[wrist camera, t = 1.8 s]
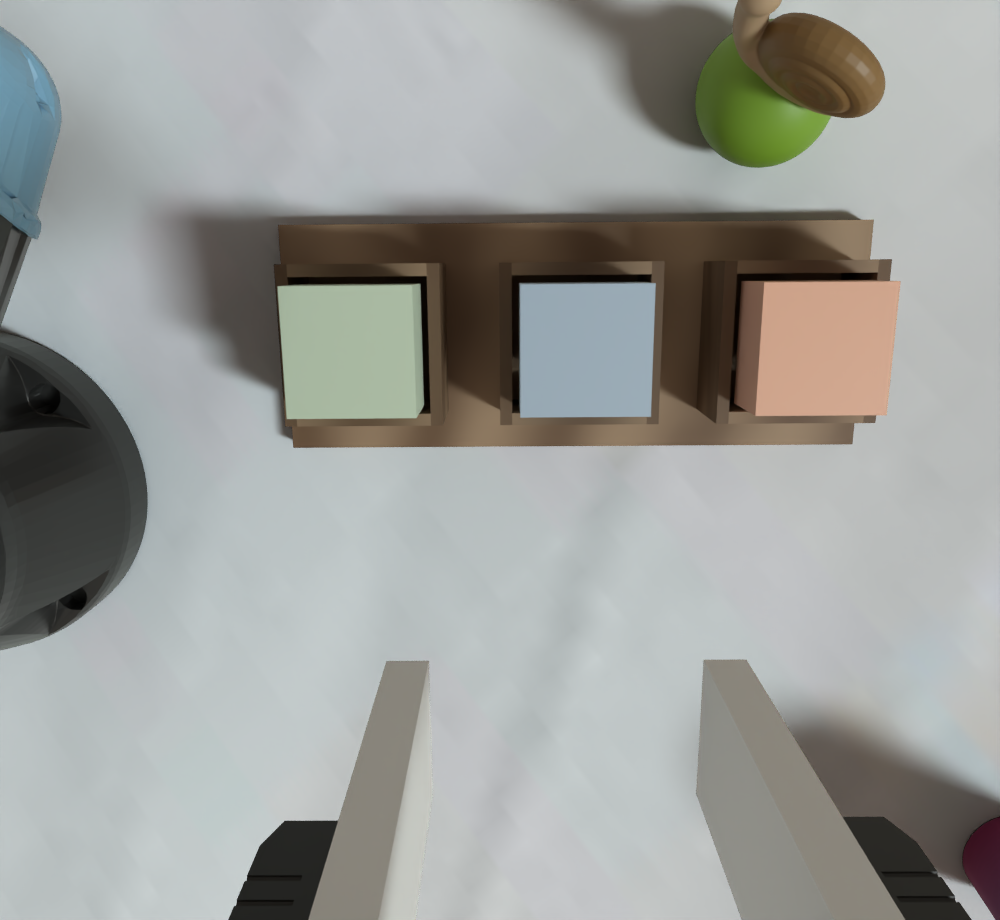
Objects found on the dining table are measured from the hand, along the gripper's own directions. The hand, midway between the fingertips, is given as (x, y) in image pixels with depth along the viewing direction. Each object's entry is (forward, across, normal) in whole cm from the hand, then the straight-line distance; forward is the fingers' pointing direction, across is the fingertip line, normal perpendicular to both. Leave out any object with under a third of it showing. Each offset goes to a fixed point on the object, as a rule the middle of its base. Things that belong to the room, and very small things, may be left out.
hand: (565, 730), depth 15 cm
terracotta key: (+21, +11, +5) cm, 24 cm away
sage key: (+21, -7, +5) cm, 22 cm away
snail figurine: (+25, +9, +15) cm, 30 cm away
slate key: (+21, +2, +5) cm, 21 cm away
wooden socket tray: (+25, +2, +5) cm, 25 cm away
